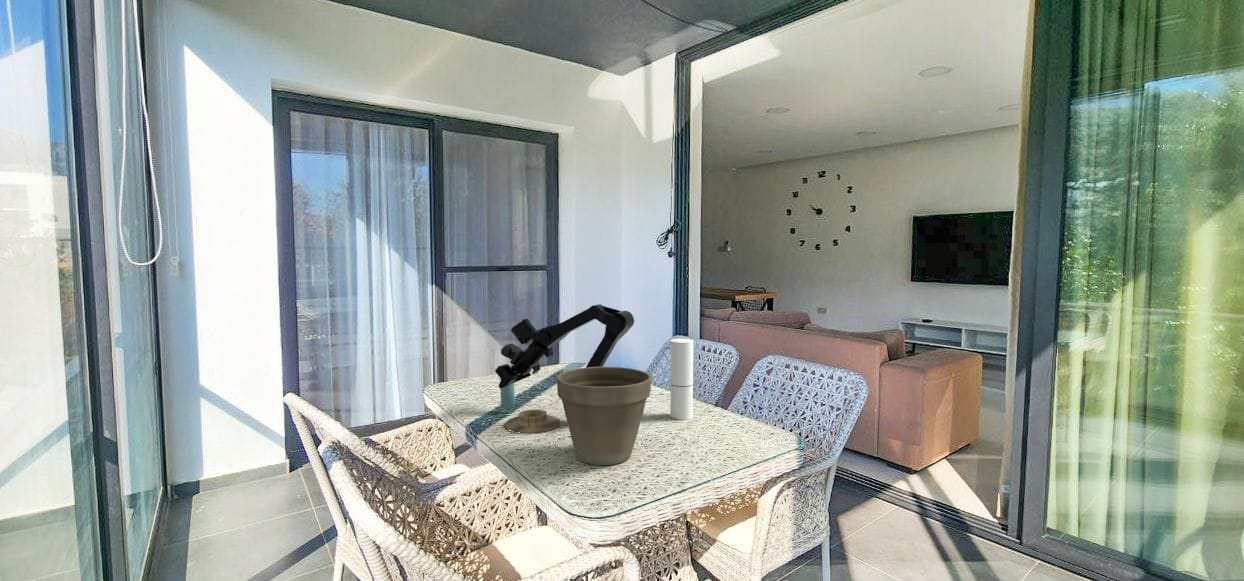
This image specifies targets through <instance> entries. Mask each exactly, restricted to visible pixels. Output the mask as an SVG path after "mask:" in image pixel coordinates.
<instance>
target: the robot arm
mask: <svg viewBox="0 0 1244 581" xmlns="http://www.w3.org/2000/svg"><path fill="white" fill-rule="evenodd" d="M594 320H596V321H598V322H599V323H600V324H602V325H605V330H604V335H603V337H602V339H601V341H600V342H599V344H598V346H597V348H596V349H595V351H594V353H593V354H592V356H591V357H590V359H589V361H588V362H587V364H586V366H585V368H587V367H604V365H605V363H606V362H607V360H608V358H609V357H610V355H611V353H612V351H614V348H615V347H616V345H617V344H618V342H619V340H621V338H623V337H624V336H625V335H626V334H627V333H628V332H629V330H631V328H632V327H633V326H634V324H635V318H634V316H633V314H632V312H630V311H628V310H618V309H616V308H612V307H607V306H605V305H603V304H600V303H599V304H598V303H597V304H594V305H591V306H590V307H589V308H587V309H585V310H583V311H581V312H579V313H578V314H576V315H572V317H569V318H567V319H566V320H564V321H562V322H559V323H555V324H553V325H549V326H545V327H543V328H541V329H536V328H535V326H533V324H532V323H531V322H530V321H531V320H529V319H528V318H523V319H522V320H521V321H519V322H518V323H516V324H515V325H513V326H512V327H511V330H510V332H511V334H513V336H514V337H515V338H516V340H517V341H518V342H519V343H520V345H526V348H525V349H524V350H523V349H522V348H521V347H519V346H517V345H516V344H514V343H508V344H505V345H503V346H502V348H501V349H500V354H501V356H504V357H505V358H508V359H509V360H510V361H509V362H510V363H511V367H510V366H509V365H510V364H509V363H503V364H501V365H499V366H498V365H497V367H496V368H495V369H494V371H495V373H496V375H497V376H498V377H499V378H501V381H500V380H499V384H498V387H499V388H500V389H501V388H503V387H505V386H507V385H510V384H512V383H514V384H515V383H517V382H520V381H521V380H524V379H526V378H529V377H531V376H532V375H535V374H538V373H539V372H540V371H541V365H540V361H541V359H542V358H543V357H546V358H549V357H552V356H554V351H553V349H554V348H553V347H550V346H551V345H554V344H558V343H560V342H561V341H562V340H564V339H565V338H566V337H567V336H568V334H570V333H571V332H574V331H575V330H577V329H580V328H581V327H583V326H585V325H587V324H588V323H591V322H593V321H594ZM527 345H528V346H527Z"/></svg>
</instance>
